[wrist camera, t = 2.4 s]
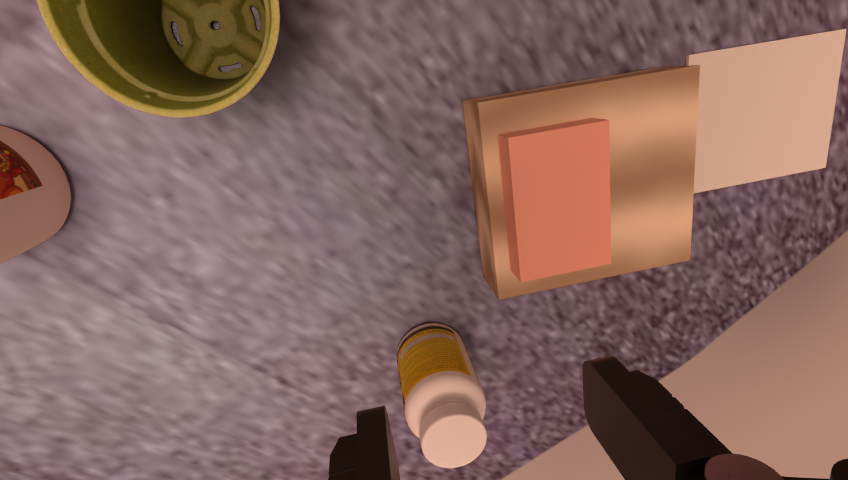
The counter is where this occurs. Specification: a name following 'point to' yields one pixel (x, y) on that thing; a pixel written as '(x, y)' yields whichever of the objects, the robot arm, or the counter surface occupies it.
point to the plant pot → (166, 49)
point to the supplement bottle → (441, 395)
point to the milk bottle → (29, 194)
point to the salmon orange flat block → (557, 197)
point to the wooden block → (629, 167)
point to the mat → (765, 109)
